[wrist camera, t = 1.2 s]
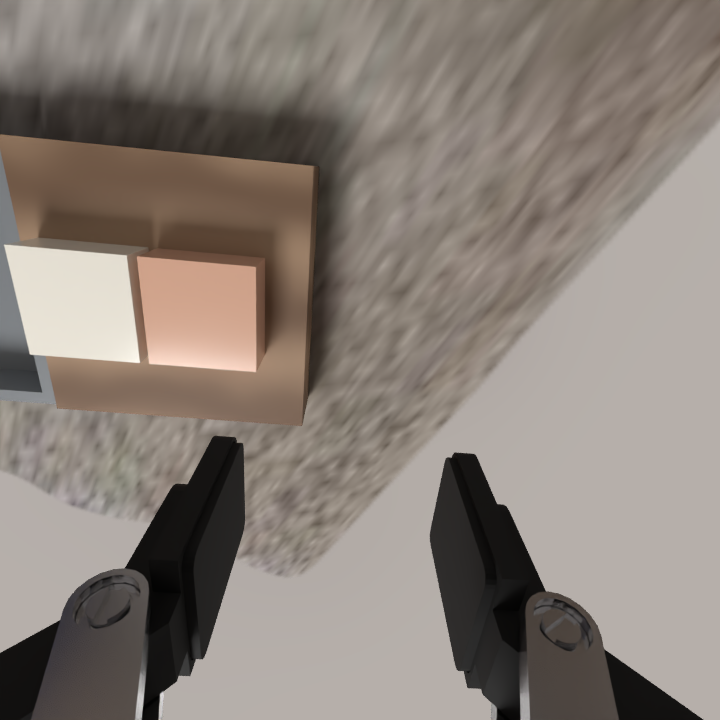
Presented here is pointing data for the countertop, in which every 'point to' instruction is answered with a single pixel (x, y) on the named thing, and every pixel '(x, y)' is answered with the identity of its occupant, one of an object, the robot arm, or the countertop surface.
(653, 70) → the countertop surface
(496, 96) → the countertop surface
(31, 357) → the tray
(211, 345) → the terracotta tile
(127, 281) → the cream tile
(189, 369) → the walnut board
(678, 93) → the countertop surface
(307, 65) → the countertop surface
